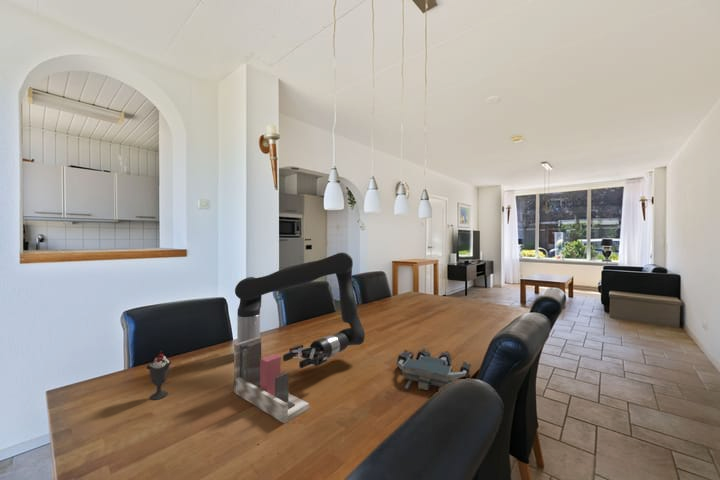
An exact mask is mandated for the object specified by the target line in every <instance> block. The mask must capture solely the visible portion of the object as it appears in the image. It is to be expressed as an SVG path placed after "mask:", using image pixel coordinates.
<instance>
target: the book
mask: <svg viewBox="0 0 720 480" xmlns="http://www.w3.org/2000/svg"><path fill="white" fill-rule="evenodd" d="M281 359H282V357H281V355H277V354H275V353H273V354H270V355H267V356H264V357H261V359H260V389H262V390H264V391H266V392H267V393H269V394H271V395H273V396H275V377H278V376H280V375H281V367H282V365H281V364H282V362H281Z"/></svg>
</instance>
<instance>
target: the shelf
mask: <svg viewBox="0 0 720 480" xmlns="http://www.w3.org/2000/svg"><path fill="white" fill-rule="evenodd" d="M233 345H234V346H233V348H234V349H233V353H234V354H233V360H234V361H233V393H234V394H236V395H238V396H239V397H241V399H244V400H246V401H247V402H249V403H250V404H252V405H254V406H255V407H257V408H258V409H260V410H261V411H263V412H265V413H267V415H269V416H271V417H273V418H274V419H276V420H278V421H279V422H281V423H283V424H286V423H287V422H289V421H291V420H293V419H294V418H296V417H297V416H299V415H301V414H302V413H304V412H306V411H307V410H309V409H310V403H309V402H307V401H305V400H303V399H302V398H301V399H300V398H298V397H297V396H295V395H293V394H291V393H290V392H289V385H290V384H289V379H290V378H289V377H290V374H289V373H290V372H287V371H286V372H284V373H283V374H280V376H278V377H275V396H273V395H271V394H269V393H267V392H266V391H264V390H262V389H260V359H261V358H262V338H261V336H260V337H257V338H254V339H250V340H247V341H244V342H240V343H237V342H236V343H235V344H233Z"/></svg>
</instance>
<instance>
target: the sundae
mask: <svg viewBox="0 0 720 480" xmlns="http://www.w3.org/2000/svg"><path fill="white" fill-rule="evenodd" d="M170 365H172V361H171V360H169V359H168V358H167V357H166V355H164V354H163V353H162V350H160V352H159V354H158V355H157V356H156V357H155V358H154V359H153V361H152V362H150V363H149V364H147V366H146V369H147V370H148V372H149V376H150V382H151V384H153V386H156V391H155V392H154V393H152V394H151V395H150V396H149V399H150V400H152V401H156V400H157V401H158V400H161V399H163V398H166V397H167V396H168V395H169V392H168V391H165V390H163V389H162V385H163V384H164V383H165V382H166V381H167V379H168V373H169V368H170Z"/></svg>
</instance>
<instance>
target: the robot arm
mask: <svg viewBox="0 0 720 480" xmlns="http://www.w3.org/2000/svg"><path fill="white" fill-rule="evenodd" d="M353 265H354V263H353V258H352V256H351V255H350V254H349V253H347V252H337V253H335V254H332V255H330V256H328V257H325V258H322V259H319V260H312V261H308V262H304V263H300V264H295V265H292V266H288V267H285V268H282V269H279V270H277V271H275V272H272V273H270V274H268V275H265V276H264V275H263V276H260V277H254V276H248V277H245V278H244V279H241V280H240V281H239V282H238V283H237V284H236V286H235V289H234V293H235V296H236V297H237V298H238V299H239V304H238V308H237V314H236V315H237V318H236V320H237V326H236V327H237V328H236V329H237V331H236V332H237V337H236V340H237V341H236V344H237V343H240V342H244V341H247V340H250V339H254V338H257V337H260V338H261V334H260V333H261V307H262V296H263V295H266V294H269V293H273V292H278V291H283V290H288V289H293V288H297V287H300V286H304V285H307V284H309V283H311V282H314V281H316V280H318V279H320V278H322V277H326V276H330V275H331V276H332V275H335V276H336V279H337V283H338V291H339V306H340V313H341V320H342V322H343V323H345V324H348V325H349V328H344V329H341V330H340V331H339V332H337V333H334V334H331V335H328V336H327V335H326V336H324V337H321V338H319V339H318V338H317V339H315V340H313V341H312V343H311V344H310V346H305V347H304V345H303V344H299V345H297V346H294V347H291V348H289V350H288V351H289V352H287V353H284V354H283V356H282V361H284V362H287V361H289V360H292V359H298V360H300V361H299V365H298V367H299V368H300V369H304V368H305V367H308V366H313V365H314V367H318V366H320V365H321V364H324V363H326V362H328V359H329V358H331V357H334V356H335V355H336V354H338V353H341V352H343V351H344V350H346V349H347V347H348V346H360V345H362V344H363V343H364V341H365V338H366V333H365V329H364V327H363V325H362V321H361V320H360V318H359V313H358V308H357V307H358V306H357V302H356V301H357V300H356V296H355V292H354V286H353Z"/></svg>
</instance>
